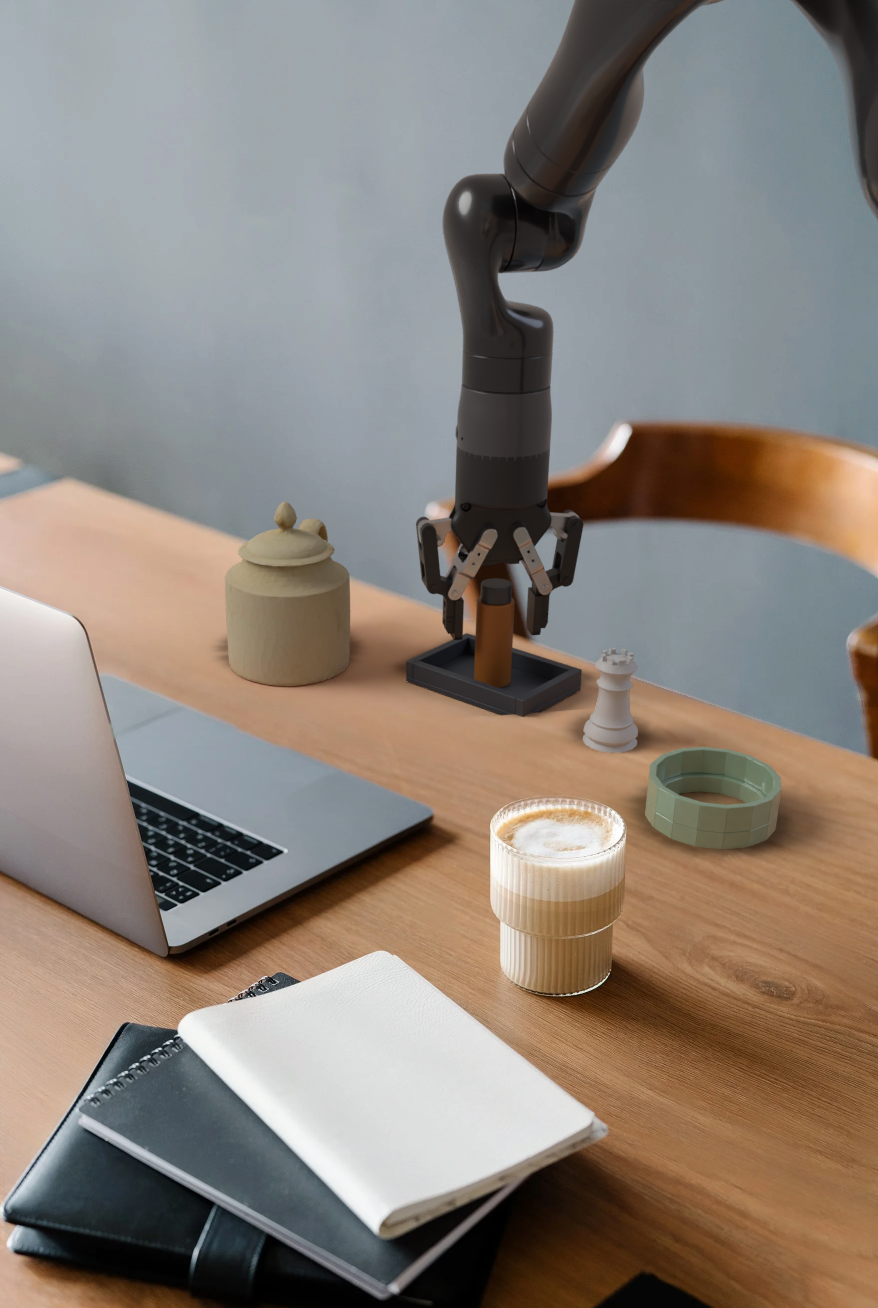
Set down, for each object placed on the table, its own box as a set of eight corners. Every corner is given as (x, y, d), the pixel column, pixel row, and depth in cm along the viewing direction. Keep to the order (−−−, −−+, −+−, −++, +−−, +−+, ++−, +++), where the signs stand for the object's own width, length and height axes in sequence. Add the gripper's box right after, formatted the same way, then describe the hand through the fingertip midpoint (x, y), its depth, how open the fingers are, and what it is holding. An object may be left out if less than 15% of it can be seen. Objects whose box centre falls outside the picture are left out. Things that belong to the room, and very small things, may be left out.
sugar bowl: (215, 629, 133) (207, 475, 126) (328, 620, 135) (326, 468, 129) (237, 692, 120) (230, 524, 113) (362, 681, 122) (362, 515, 116)
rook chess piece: (569, 745, 111) (576, 653, 108) (605, 729, 114) (612, 638, 110) (613, 764, 108) (622, 670, 105) (649, 747, 111) (658, 654, 107)
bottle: (505, 672, 123) (510, 575, 119) (514, 687, 120) (519, 588, 116) (470, 674, 122) (473, 577, 118) (478, 689, 120) (482, 591, 116)
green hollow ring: (742, 796, 104) (749, 742, 102) (794, 858, 96) (803, 801, 94) (626, 806, 103) (631, 751, 100) (670, 870, 95) (676, 812, 93)
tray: (580, 690, 121) (582, 669, 120) (522, 722, 115) (523, 701, 114) (465, 652, 128) (466, 632, 127) (405, 681, 122) (406, 660, 121)
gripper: (425, 457, 107) (421, 657, 115) (604, 449, 110) (588, 645, 117) (406, 433, 114) (404, 623, 122) (575, 426, 116) (563, 613, 124)
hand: (494, 633), depth 119 cm, fingers open, 6 cm apart
